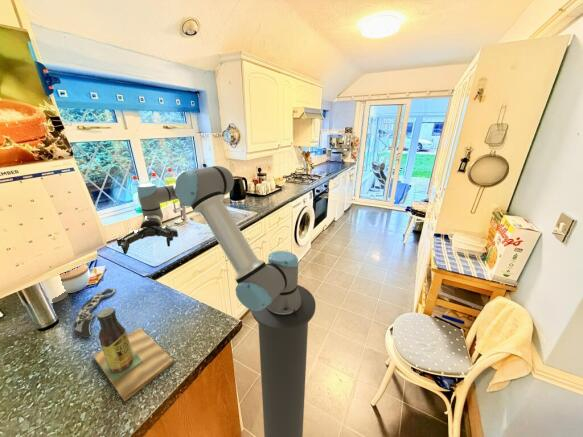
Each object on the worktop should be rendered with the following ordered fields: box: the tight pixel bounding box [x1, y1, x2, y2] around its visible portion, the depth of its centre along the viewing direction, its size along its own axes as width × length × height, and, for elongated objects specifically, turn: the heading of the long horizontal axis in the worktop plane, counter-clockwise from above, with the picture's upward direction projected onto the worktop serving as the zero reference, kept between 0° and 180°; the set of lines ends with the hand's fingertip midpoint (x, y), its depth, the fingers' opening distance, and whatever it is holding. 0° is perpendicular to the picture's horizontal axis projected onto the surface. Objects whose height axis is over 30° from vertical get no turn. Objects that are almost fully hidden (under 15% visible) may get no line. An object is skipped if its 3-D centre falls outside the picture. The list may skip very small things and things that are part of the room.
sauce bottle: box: [96, 307, 133, 373], centre depth 69 cm, size 7×6×20 cm
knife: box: [73, 287, 116, 338], centre depth 94 cm, size 28×2×10 cm
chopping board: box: [93, 327, 174, 402], centre depth 75 cm, size 22×14×2 cm, turn 55°
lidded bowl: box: [60, 263, 91, 294], centre depth 106 cm, size 13×13×11 cm
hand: (146, 246), depth 84 cm, fingers open, 13 cm apart
